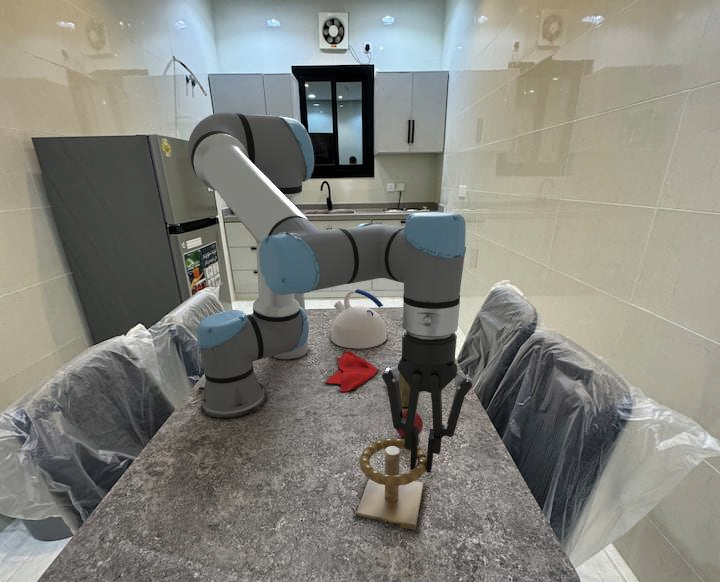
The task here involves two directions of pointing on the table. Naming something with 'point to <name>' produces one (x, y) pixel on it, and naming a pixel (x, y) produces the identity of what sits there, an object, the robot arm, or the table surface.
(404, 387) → the rock
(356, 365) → the cloth
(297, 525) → the table surface
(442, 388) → the robot arm
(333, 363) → the table surface
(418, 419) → the onion
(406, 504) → the stand
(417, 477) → the gold beaded ring
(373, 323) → the kettle
